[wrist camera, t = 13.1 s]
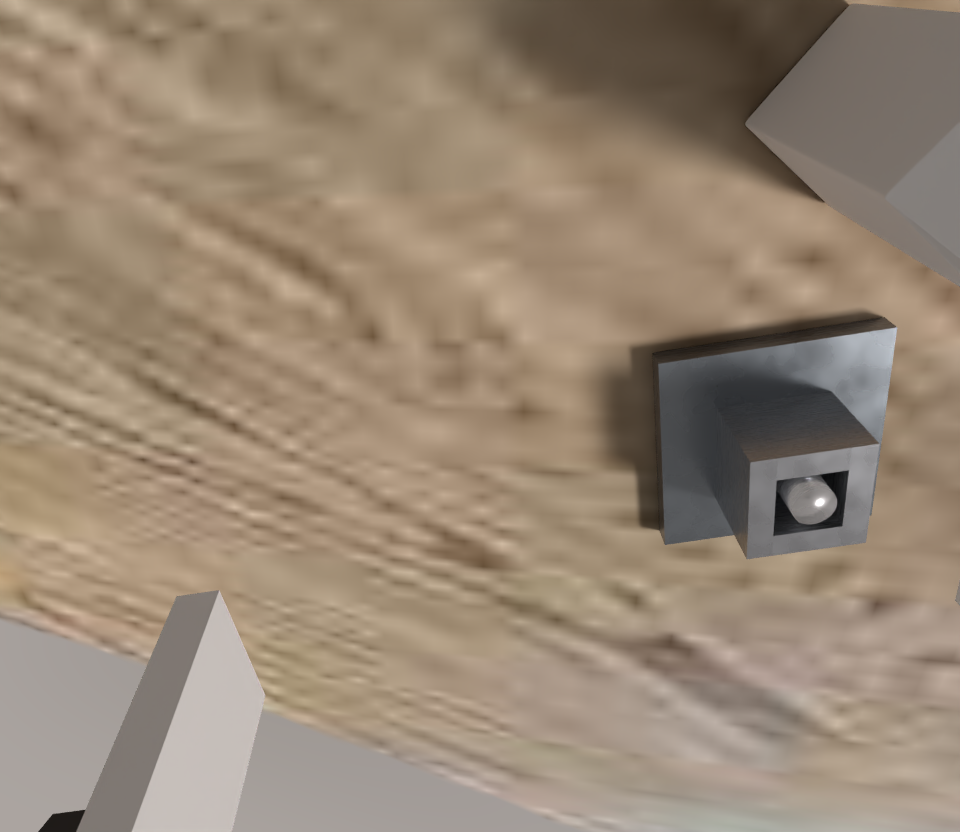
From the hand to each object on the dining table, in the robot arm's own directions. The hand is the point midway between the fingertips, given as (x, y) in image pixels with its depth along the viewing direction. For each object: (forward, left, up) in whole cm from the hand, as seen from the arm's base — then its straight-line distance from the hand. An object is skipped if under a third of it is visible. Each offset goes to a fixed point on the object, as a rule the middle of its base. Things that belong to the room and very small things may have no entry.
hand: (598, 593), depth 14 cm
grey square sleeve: (+19, +15, -30) cm, 39 cm away
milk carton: (0, +18, -32) cm, 37 cm away
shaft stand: (+19, +15, -32) cm, 40 cm away
